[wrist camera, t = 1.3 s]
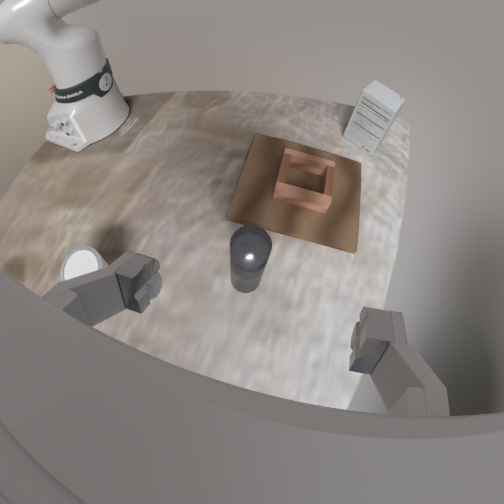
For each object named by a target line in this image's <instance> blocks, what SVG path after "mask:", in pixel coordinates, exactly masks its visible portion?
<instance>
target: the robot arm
mask: <svg viewBox="0 0 504 504" xmlns="http://www.w3.org/2000/svg"><path fill="white" fill-rule="evenodd" d="M98 1H100V0H5V1H4V2H2V3H1V4H0V42H1V43H5V44H19V45H23V46H25V47H28V48H29V49H31V50H32V51H34V52H35V53H36V54H38V56H39V57H40V58H41V59H42V60H43V62H44V63H45V66H46V67H47V69H48V71H49V73H50V75H51V77H52V79H53V81H54V86H53V87H54V88H53V87H51V89H52V88H53V90H52V91H51V93H52V92H53V91H54V90H55V98H56V99H55V101H54V103H53V105H52V106H51V108H50V110H49V112H48V115H47V120H48V123H49V125H50V127H49V129H48V131H47V133H46V140H47V141H50V142H52V143H55V144H58V145H60V146H63V147H65V148H68V149H70V150H73V151H76V152H79V151H81V150H83V149H84V148H85V147H87V146H88V145H89V144H91V143H93V142H96V141H98V140H101V139H103V138H105V137H106V136H108V135H110V134H111V133H113V132H114V131H115V130H117V129H118V128H119V127H120V126H121V125H122V124H123V123H124V121H125V120H126V118H127V116H128V114H129V106H128V105H127V103H126V102H125V100H124V96H123V94H122V93H120V91H119V89H118V87H117V85H116V82H115V80H114V78H113V76H112V70H111V67H110V63H109V61H108V59H107V58H105V54H104V51H103V47H102V43H101V40H100V36H99V33H98V32H97V30H95V29H94V28H92V27H90V26H84V25H80V26H73V25H69V24H67V23H65V22H64V21H63V20H62V19H61V18H62V17H63V16H65V15H67V14H69V13H72V12H74V11H76V10H79V9H81V8H84V7H86V6H89V5H91V4H94V3H96V2H98ZM51 89H50V90H51ZM159 269H160V265H159V261H158V260H157V259H155V258H152V257H148V256H145V255H142V254H137V253H134V252H131V251H127V252H125V253H124V254H123V255H121V256H120V257H119V258H118V259H116V260H115V261H114V262H113V263H112V264H110V265H109V266H108V267H107V268H106V269H105V270H104V269H100V270H96V271H93V272H90V273H87V274H84V275H81V276H78V277H75V278H72V279H68V280H65V281H62V282H59V283H57V284H56V285H55V286H54V287H53V288H52V289H50V290H49V291H48V292H47V293H46V294H45V295H44V296H42V297H40V296H38V295H37V294H35V293H34V292H32V291H31V290H29V289H28V288H27V287H25V286H24V285H22V284H21V283H19V282H18V281H17V280H15V279H14V278H12V277H11V276H10V275H9V274H7V273H6V272H4V271H0V504H504V412H501V413H493V414H484V415H470V416H450V413H449V405H448V397H447V390H446V387H445V386H444V385H443V384H442V382H441V381H440V380H439V379H438V377H437V376H436V375H435V374H434V372H433V371H432V370H431V369H430V367H429V366H428V365H427V364H426V362H425V361H424V360H423V359H422V358H421V356H420V355H419V354H418V353H417V352H416V350H415V349H414V348H413V347H412V346H411V345H408V343H407V336H406V330H405V324H404V319H403V314H402V313H401V312H395V311H386V310H381V309H376V308H370V307H365V306H364V307H363V308H362V310H361V313H360V321H359V322H357V323H356V325H355V327H354V330H353V334H352V338H351V349H352V350H353V351H352V353H351V355H350V365H349V371H354V372H359V373H365V374H370V376H371V378H372V380H373V382H374V384H375V386H376V388H377V390H378V392H379V394H380V396H381V398H382V400H383V402H384V404H385V405H386V407H387V409H388V411H387V413H385V414H376V413H366V412H358V411H350V410H343V409H336V408H330V407H324V406H319V405H313V404H308V403H303V402H298V401H293V400H289V399H284V398H280V397H276V396H272V395H268V394H264V393H260V392H256V391H252V390H249V389H245V388H242V387H238V386H235V385H231V384H228V383H225V382H222V381H219V380H216V379H213V378H210V377H207V376H204V375H201V374H198V373H195V372H192V371H190V370H187V369H184V368H181V367H179V366H176V365H174V364H171V363H169V362H166V361H164V360H161V359H159V358H156V357H154V356H152V355H149V354H147V353H145V352H142V351H140V350H138V349H136V348H133V347H131V346H129V345H127V344H125V343H123V342H121V341H118V340H116V339H114V338H112V337H110V336H108V335H106V334H104V333H102V332H100V331H98V330H97V329H95V328H93V327H92V326H94V325H96V324H98V323H100V322H102V321H104V320H106V319H108V318H110V317H111V316H113V315H115V314H117V313H119V312H121V311H123V310H125V309H129V310H132V311H135V312H138V313H140V314H142V313H143V312H144V310H145V309H146V308H147V307H148V306H149V305H150V299H153V298H155V297H156V296H157V295H158V294H159V293H160V290H161V287H162V277H161V275H160V274H159V272H158V270H159Z"/></svg>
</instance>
